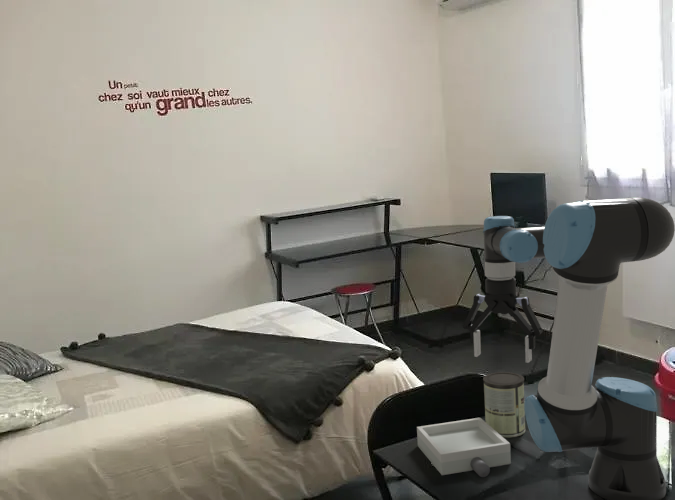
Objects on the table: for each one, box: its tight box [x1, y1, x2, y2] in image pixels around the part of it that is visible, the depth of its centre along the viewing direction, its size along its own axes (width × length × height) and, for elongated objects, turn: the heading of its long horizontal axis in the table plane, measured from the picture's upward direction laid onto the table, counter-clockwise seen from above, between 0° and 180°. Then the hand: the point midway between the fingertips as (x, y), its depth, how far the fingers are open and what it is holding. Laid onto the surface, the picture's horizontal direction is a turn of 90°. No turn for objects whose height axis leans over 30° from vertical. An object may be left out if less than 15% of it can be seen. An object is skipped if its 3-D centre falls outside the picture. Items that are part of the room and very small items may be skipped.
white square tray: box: [416, 417, 512, 478], centre depth 166 cm, size 21×17×5 cm
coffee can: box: [482, 371, 526, 439], centre depth 180 cm, size 10×10×14 cm
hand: (502, 358), depth 179 cm, fingers open, 13 cm apart
